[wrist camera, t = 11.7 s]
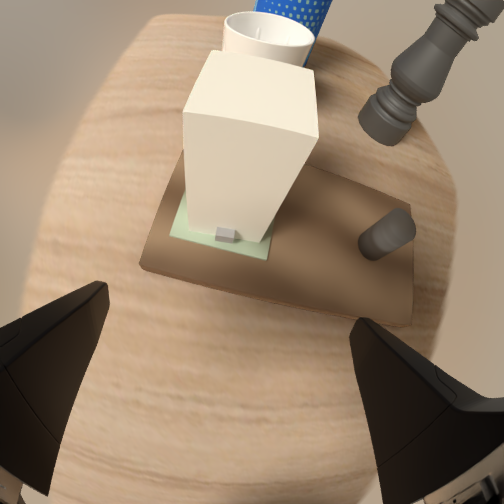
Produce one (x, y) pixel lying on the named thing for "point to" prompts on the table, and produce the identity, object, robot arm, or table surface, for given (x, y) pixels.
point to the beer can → (298, 12)
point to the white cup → (267, 37)
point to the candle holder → (424, 68)
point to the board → (300, 250)
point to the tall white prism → (245, 142)
